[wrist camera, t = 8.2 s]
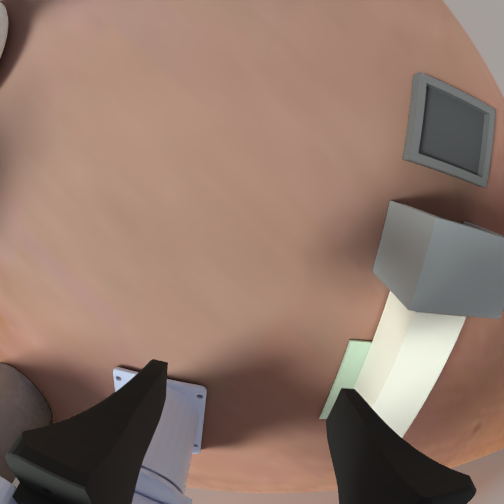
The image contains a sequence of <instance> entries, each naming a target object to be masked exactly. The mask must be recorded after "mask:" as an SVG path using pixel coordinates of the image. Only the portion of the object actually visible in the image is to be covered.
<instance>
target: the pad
mask: <svg viewBox="0 0 504 504" xmlns="http://www.w3.org/2000/svg"><path fill="white" fill-rule="evenodd" d="M371 344H372V341H361V340H350V341H349V344H348V347H347V349H346V352H345V355H344V358H343V360H342V363H341V366H340V368H339V371H338V373H337V376H336V379H335V381H334V384H333V386H332V389H331V391H330V393H329V396H328V398H327V401H326V403H325V405H324V408H323V410H322V412H321V415H320V417H319V418H320V419H327V417H328V415H329V413H330V411H331V409H332V407H333V405H334V403H335V401H336V399H337V397H338V394H339V392H340V390H341V388H350V389H353V387H354V385H355V383H356V380H357V378H358V376H359V373H360V371H361V369H362V366H363V364H364V361H365V359H366V356H367V354H368V351H369V349H370V346H371Z"/></svg>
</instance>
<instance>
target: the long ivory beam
mask: <svg viewBox="0 0 504 504" xmlns="http://www.w3.org/2000/svg"><path fill="white" fill-rule="evenodd" d="M465 319H466V316H460V315H449V314H439V313H429V312H419V311H410V310H408V309H407V308H406V307H405V306H404V305H403V304H402V303H401V302H400V301H399V300H398V298H397V297H396V296H395V295H394V294H393V293H392V292H391V291H390V293H389V296H388V299H387V302H386V305H385V308H384V311H383V314H382V317H381V319H380V322H379V325H378V328H377V330H376V333H375V336H374V339H373V341H372V344H371V346H370V349H369V351H368V354H367V356H366V359H365V361H364V364H363V366H362V369H361V371H360V373H359V376H358V378H357V380H356V383H355V385H354V387H353V389H355V390H356V391H357V392H358V393H359V394H360V395H361V396H362V397H363V399H364V400H365V401H366V402H367V403H368V404H369V405H370V407H371V408H372V409H373V410H374V411H375V412H376V413H377V414H378V415H379V416H380V418H381V419H382V420H383V421H384V422H385V423H386V424H387V425H388V426H389V427H390V428H391V429H392V430H393V431H395V432H396V433H397V434H398V435H399V436H400V437H401V438H402V437H403V436H404V434H405V433H406V431H407V430H408V428H409V427H410V425H411V423H412V422H413V420H414V419H415V417H416V415H417V414H418V412H419V410H420V409H421V407H422V405H423V404H424V402H425V400H426V399H427V397H428V395H429V393H430V392H431V390H432V388H433V386H434V384H435V382H436V381H437V379H438V377H439V375H440V373H441V371H442V369H443V367H444V365H445V363H446V361H447V359H448V357H449V355H450V353H451V351H452V349H453V346H454V344H455V342H456V340H457V338H458V335H459V333H460V331H461V328H462V326H463V324H464V321H465Z"/></svg>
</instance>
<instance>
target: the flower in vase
mask: <svg viewBox="0 0 504 504" xmlns="http://www.w3.org/2000/svg"><path fill="white" fill-rule="evenodd" d="M7 33H8V15H7V11H6V8H5V6H4V5H3V4H2V3H1V2H0V58H1V55H2V52H3V50H4V46H5V43H6V39H7Z"/></svg>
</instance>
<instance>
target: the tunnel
mask: <svg viewBox="0 0 504 504" xmlns="http://www.w3.org/2000/svg"><path fill="white" fill-rule="evenodd" d="M372 272H373V273H374V274H375V275H376V276H377V277H378V278H379V279H380V280H381V281H382V282H383V283H384V284H385V285H386V287H387V288H388V289H389V290H390V291H391V292H392V293H393V294H394V295H395V296H396V297H397V298H398V300H399V301H400V302H401V303H402V304H403V305H404V306H405V307H406V308H407V309H408V310H410V311H419V312H429V313H439V314H449V315H460V316H471V317H483V318H496V319H500V317H501V314H502V312H503V309H504V236H502V235H500V234H498V233H495V232H493V231H490V230H488V229H485V228H483V227H480V226H478V225H475V224H472V223H469V222H466V221H463V224H460V223H457V222H454V221H450V220H447V219H443V218H441V217H438V216H435V215H433V214H430V213H428V212H425V211H422V210H419V209H417V208H414V207H411V206H408V205H406V204H402V203H398V202H394V201H390V202H389V207H388V211H387V216H386V220H385V224H384V228H383V232H382V237H381V241H380V244H379V248H378V252H377V256H376V260H375V263H374V267H373V270H372Z"/></svg>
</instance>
